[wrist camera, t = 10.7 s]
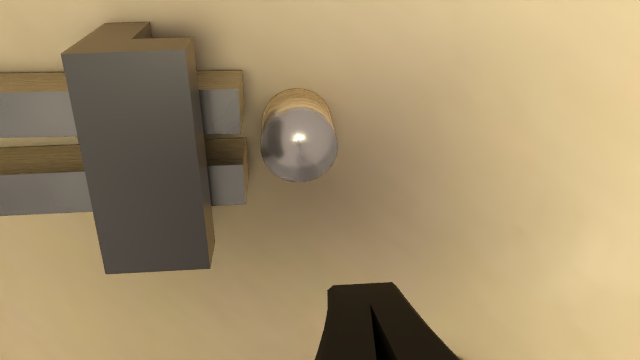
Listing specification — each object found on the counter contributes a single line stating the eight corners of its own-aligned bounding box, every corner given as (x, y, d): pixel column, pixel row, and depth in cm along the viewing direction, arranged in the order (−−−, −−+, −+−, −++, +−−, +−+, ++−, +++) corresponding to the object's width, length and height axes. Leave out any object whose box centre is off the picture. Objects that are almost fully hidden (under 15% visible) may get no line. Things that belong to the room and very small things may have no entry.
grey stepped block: (221, 204, 22) (210, 268, 18) (136, 208, 22) (105, 274, 18) (203, 20, 19) (184, 49, 15) (104, 23, 19) (60, 54, 15)
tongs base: (331, 180, 22) (338, 210, 20) (-91, 199, 21) (-134, 233, 19) (330, 87, 20) (337, 109, 18) (-125, 104, 20) (-175, 129, 17)
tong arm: (244, 111, 20) (240, 133, 18) (-124, 116, 20) (-170, 140, 18) (241, 58, 20) (237, 75, 18) (-142, 62, 19) (-191, 80, 17)
